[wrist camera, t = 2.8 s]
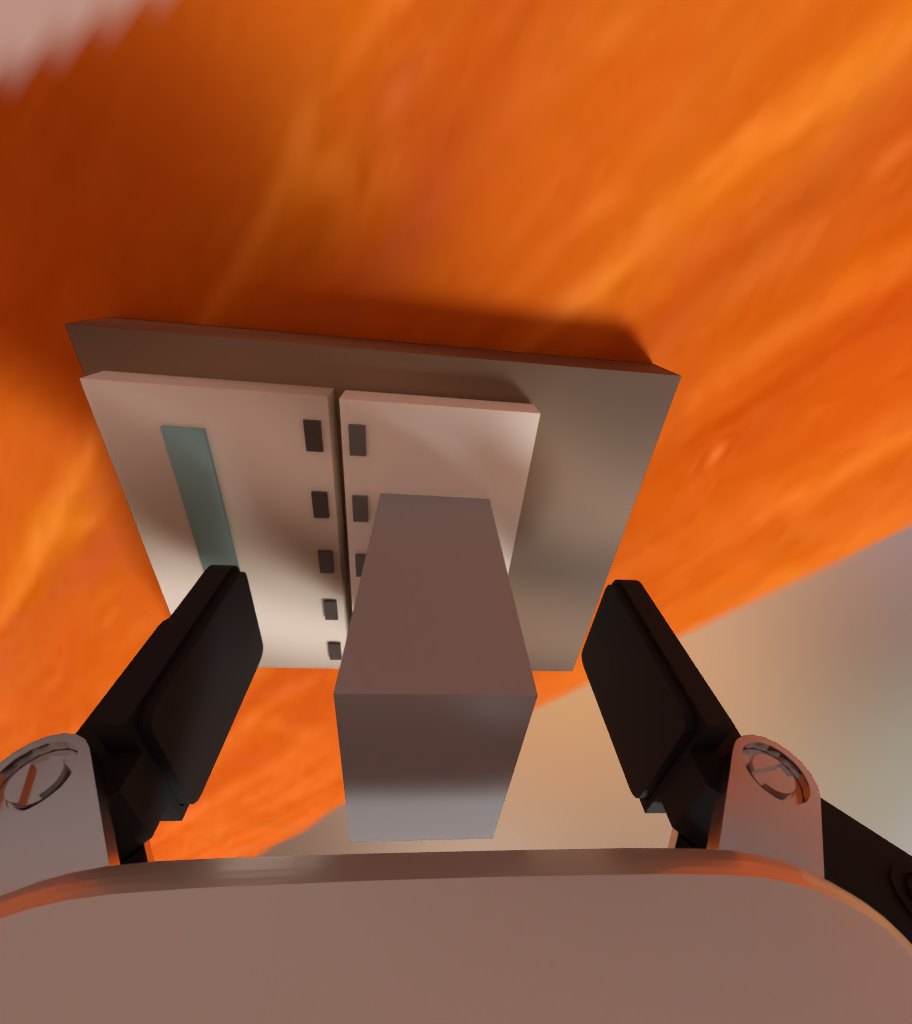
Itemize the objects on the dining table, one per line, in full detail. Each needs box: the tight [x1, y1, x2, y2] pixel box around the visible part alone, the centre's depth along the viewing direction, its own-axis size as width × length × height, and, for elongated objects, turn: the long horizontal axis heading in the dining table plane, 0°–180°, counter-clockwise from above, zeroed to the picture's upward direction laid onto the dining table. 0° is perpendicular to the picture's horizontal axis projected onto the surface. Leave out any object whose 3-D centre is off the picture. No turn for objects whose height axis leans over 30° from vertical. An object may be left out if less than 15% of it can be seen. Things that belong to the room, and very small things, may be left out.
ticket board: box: [65, 317, 681, 671], centre depth 13 cm, size 12×15×2 cm
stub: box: [334, 390, 540, 842], centre depth 10 cm, size 10×5×7 cm, turn 175°
